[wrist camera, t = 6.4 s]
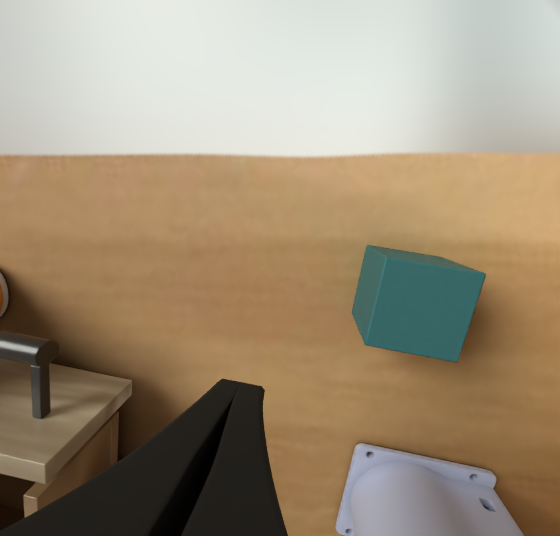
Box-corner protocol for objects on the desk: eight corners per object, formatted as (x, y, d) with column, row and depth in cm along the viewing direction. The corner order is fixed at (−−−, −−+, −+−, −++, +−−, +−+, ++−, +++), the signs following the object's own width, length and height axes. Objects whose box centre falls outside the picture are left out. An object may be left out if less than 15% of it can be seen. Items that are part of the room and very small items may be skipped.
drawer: (-20, 288, 20) (-186, 329, 13) (135, 318, 19) (42, 377, 12) (-3, 494, 24) (-124, 604, 17) (126, 525, 23) (51, 654, 16)
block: (441, 257, 17) (487, 273, 13) (421, 325, 18) (458, 363, 14) (366, 244, 17) (385, 256, 13) (351, 312, 18) (364, 345, 14)
